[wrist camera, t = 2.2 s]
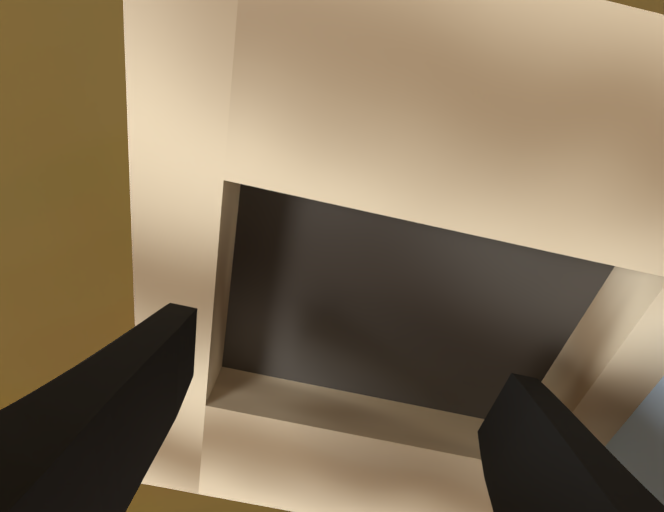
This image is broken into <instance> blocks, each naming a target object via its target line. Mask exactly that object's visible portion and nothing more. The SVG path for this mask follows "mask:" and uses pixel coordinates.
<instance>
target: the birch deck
mask: <svg viewBox="0 0 664 512" xmlns="http://www.w3.org/2000/svg"><path fill="white" fill-rule="evenodd" d="M123 11H124V39H125V66H126V93H127V121H128V148H129V175H130V203H131V230H132V257H133V285H134V312H135V326H136V325H138V324H139V323H141V322H142V321H144V320H145V319H146V318H148V317H149V316H151V315H152V314H154V313H155V312H157V311H158V310H159V309H161V308H162V307H164V306H165V305H167V304H169V303H174V304H179V305H184V306H189V307H193V308H197V325H196V343H195V360H194V376H193V378H192V381H191V383H190V386H189V388H188V391H187V393H186V396H185V398H184V401H183V403H182V406H181V408H180V410H179V413H178V415H177V418H176V420H175V421H174V423H173V425H172V427H171V429H170V431H169V433H168V435H167V436H166V438H165V440H164V442H163V444H162V446H161V448H160V449H159V451H158V453H157V455H156V457H155V459H154V460H153V462H152V464H151V466H150V468H149V470H148V471H147V473H146V475H145V477H144V479H143V481H142V482H141V483H142V484H148V485H153V486H159V487H164V488H169V489H175V490H180V491H185V492H191V493H196V494H202V495H207V496H212V497H218V498H223V499H228V500H234V501H239V502H245V503H250V504H255V505H261V506H266V507H271V508H277V509H282V510H287V511H293V512H493V509H492V505H491V501H490V498H489V494H488V490H487V486H486V483H485V479H484V473H483V467H482V461H481V455H480V447H479V440H478V432H477V431H478V430H479V428H480V426H481V425H482V423H483V421H484V419H485V418H486V416H487V414H488V412H489V411H490V409H491V407H492V406H493V404H494V402H495V400H496V399H497V397H498V395H499V393H500V392H501V390H502V388H503V387H504V385H505V383H506V381H507V380H508V378H509V376H510V374H511V373H514V374H519V375H524V376H529V377H534V378H537V379H539V380H540V381H541V382H542V383H543V384H544V385H545V386H546V387H547V388H548V389H549V390H550V391H551V392H552V393H553V394H554V395H555V396H556V397H557V398H558V399H559V400H560V401H561V402H562V403H563V404H564V405H565V406H566V407H567V408H568V409H569V410H570V411H571V412H572V413H573V414H574V415H575V416H576V417H577V418H578V419H579V420H580V421H581V422H582V423H583V424H584V425H585V427H586V428H587V429H588V430H589V431H590V432H591V433H592V434H593V435H594V436H595V437H596V438H597V439H598V440H599V441H600V442H601V443H602V444H603V445H604V446H606V445H607V443H608V442H609V441H610V440H611V439H612V437H613V436H614V435H615V434H616V433H617V431H618V430H619V429H620V428H621V427H622V425H623V424H624V423H625V422H626V421H627V419H628V418H629V417H630V416H631V415H632V413H633V412H634V411H635V410H636V409H637V407H638V406H639V405H640V404H641V403H642V401H643V400H644V399H645V398H646V397H647V395H648V394H649V393H650V392H651V391H652V389H653V388H654V387H655V386H656V385H657V383H658V382H659V381H660V380H661V379H662V377H663V376H664V15H662V14H658V13H654V12H650V11H646V10H642V9H638V8H634V7H630V6H626V5H622V4H618V3H614V2H610V1H606V0H123Z"/></svg>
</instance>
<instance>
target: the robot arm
mask: <svg viewBox="0 0 664 512" xmlns="http://www.w3.org/2000/svg"><path fill="white" fill-rule="evenodd" d="M196 325H197V308H193V307H189V306H184V305H179V304H174V303H169V304H167V305H165V306H164V307H162V308H161V309H159V310H158V311H157V312H155V313H154V314H152V315H151V316H149V317H148V318H146V319H145V320H144V321H142V322H141V323H139V324H138V325H136V326H135V327H134V328H132V329H131V330H129V331H128V332H126V333H125V334H123V335H122V336H120V337H119V338H118V339H116V340H115V341H113V342H112V343H110V344H108V345H107V346H105V347H104V348H102V349H101V350H99V351H98V352H96V353H95V354H93V355H92V356H90V357H89V358H87V359H86V360H84V361H83V362H81V363H79V364H78V365H76V366H75V367H73V368H72V369H70V370H68V371H67V372H65V373H63V374H62V375H60V376H58V377H57V378H55V379H53V380H52V381H50V382H48V383H47V384H45V385H43V386H42V387H40V388H38V389H37V390H35V391H33V392H32V393H30V394H28V395H26V396H25V397H23V398H21V399H19V400H18V401H16V402H14V403H12V404H10V405H9V406H7V407H5V408H3V409H1V410H0V512H126V510H127V508H128V506H129V504H130V503H131V501H132V499H133V497H134V495H135V493H136V492H137V490H138V488H139V486H140V484H141V482H142V481H143V479H144V477H145V475H146V473H147V471H148V470H149V468H150V466H151V464H152V462H153V460H154V459H155V457H156V455H157V453H158V451H159V449H160V448H161V446H162V444H163V442H164V440H165V438H166V436H167V435H168V433H169V431H170V429H171V427H172V425H173V423H174V421H175V420H176V418H177V415H178V413H179V410H180V408H181V406H182V403H183V401H184V398H185V396H186V393H187V391H188V388H189V386H190V383H191V381H192V378H193V376H194V360H195V343H196ZM477 432H478V440H479V447H480V455H481V461H482V467H483V473H484V479H485V483H486V486H487V490H488V494H489V498H490V501H491V505H492V509H493V512H664V505H663V504H662V503H661V502H660V501H659V500H658V499H657V498H656V497H655V496H654V495H653V494H652V493H651V492H650V491H649V490H647V489H646V488H645V487H644V486H643V485H642V484H641V483H640V482H639V481H638V480H637V479H636V478H635V477H634V476H633V475H632V474H631V473H630V472H629V471H628V470H627V469H626V468H625V467H624V466H623V465H622V464H621V463H620V462H619V461H618V460H617V458H616V457H615V456H614V455H613V454H612V453H611V452H610V451H609V450H608V449H607V448H606V447H605V446H604V445H603V444H602V443H601V442H600V441H599V440H598V439H597V438H596V437H595V436H594V435H593V434H592V433H591V432H590V431H589V430H588V429H587V428H586V427H585V425H584V424H583V423H582V422H581V421H580V420H579V419H578V418H577V417H576V416H575V415H574V414H573V413H572V412H571V411H570V410H569V409H568V408H567V407H566V406H565V405H564V404H563V403H562V402H561V401H560V400H559V399H558V398H557V397H556V396H555V395H554V394H553V393H552V392H551V391H550V390H549V389H548V388H547V387H546V386H545V385H544V384H543V383H542V382H541V381H540V380H539V379H537V378H534V377H529V376H524V375H519V374H514V373H511V374H510V376H509V378H508V380H507V381H506V383H505V385H504V387H503V388H502V390H501V392H500V393H499V395H498V397H497V399H496V400H495V402H494V404H493V406H492V407H491V409H490V411H489V412H488V414H487V416H486V418H485V419H484V421H483V423H482V425H481V426H480V428H479V430H478V431H477Z"/></svg>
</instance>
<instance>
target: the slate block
mask: <svg viewBox="0 0 664 512" xmlns="http://www.w3.org/2000/svg"><path fill="white" fill-rule="evenodd" d="M605 447H606V448H607V449H608V450H609V451H610V452H611V453H612V454H613V455H614V456H615V457H616V458H617V460H618V461H619V462H620V463H621V464H622V465H623V466H624V467H625V468H626V469H627V470H628V471H629V472H630V473H631V474H632V475H633V476H634V477H635V478H636V479H637V480H638V481H639V482H640V483H641V484H642V485H643V486H644V487H645V488H646V489H647V490H649V491H650V492H651V493H652V494H653V495H654V496H655V497H656V498H657V499H658V500H659V501H660V502H661V503H662V504H663V505H664V376H663V377H662V379H661V380H660V381H659V382H658V383H657V385H656V386H655V387H654V388H653V389H652V391H651V392H650V393H649V394H648V395H647V397H646V398H645V399H644V400H643V401H642V403H641V404H640V405H639V406H638V407H637V409H636V410H635V411H634V412H633V413H632V415H631V416H630V417H629V418H628V419H627V421H626V422H625V423H624V424H623V425H622V427H621V428H620V429H619V430H618V431H617V433H616V434H615V435H614V436H613V437H612V439H611V440H610V441H609V442H608V443H607V445H606V446H605Z"/></svg>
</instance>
